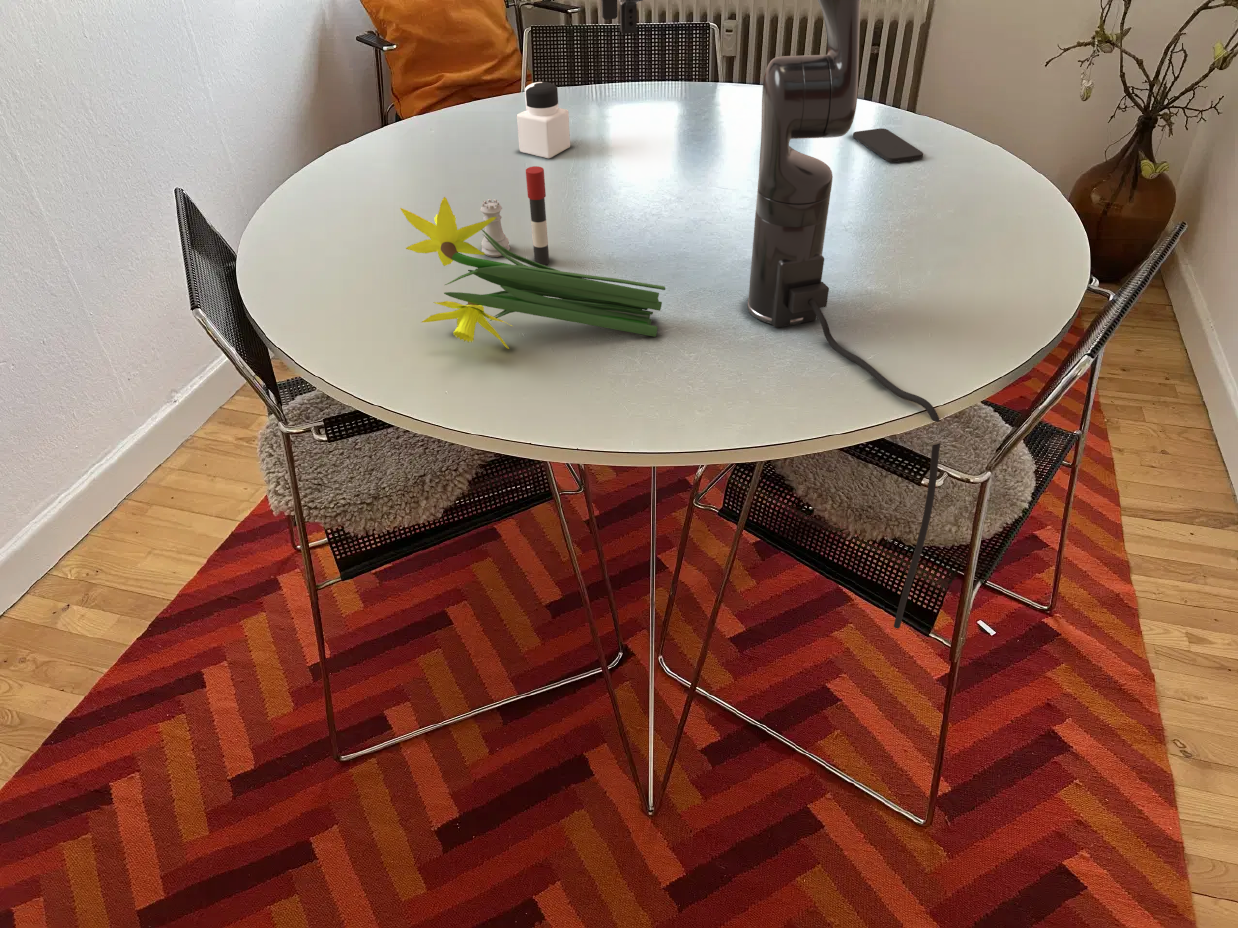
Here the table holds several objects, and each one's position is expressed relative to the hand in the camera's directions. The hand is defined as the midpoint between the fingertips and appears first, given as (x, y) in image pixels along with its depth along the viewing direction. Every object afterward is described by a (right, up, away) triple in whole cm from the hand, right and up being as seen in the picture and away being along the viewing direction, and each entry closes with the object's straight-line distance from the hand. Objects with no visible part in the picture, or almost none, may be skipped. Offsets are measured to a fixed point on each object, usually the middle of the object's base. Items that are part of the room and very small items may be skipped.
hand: (618, 25), depth 130 cm
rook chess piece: (-19, -30, +12) cm, 37 cm away
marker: (-12, -32, +9) cm, 35 cm away
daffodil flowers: (-10, -44, -6) cm, 46 cm away
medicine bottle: (-14, -2, +45) cm, 47 cm away
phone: (+51, -3, +42) cm, 66 cm away
